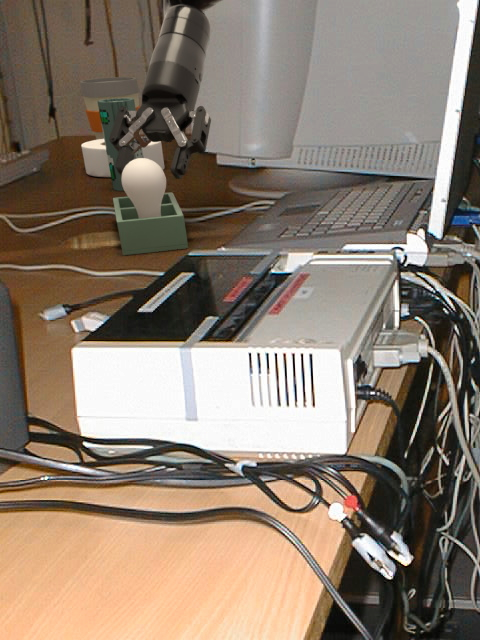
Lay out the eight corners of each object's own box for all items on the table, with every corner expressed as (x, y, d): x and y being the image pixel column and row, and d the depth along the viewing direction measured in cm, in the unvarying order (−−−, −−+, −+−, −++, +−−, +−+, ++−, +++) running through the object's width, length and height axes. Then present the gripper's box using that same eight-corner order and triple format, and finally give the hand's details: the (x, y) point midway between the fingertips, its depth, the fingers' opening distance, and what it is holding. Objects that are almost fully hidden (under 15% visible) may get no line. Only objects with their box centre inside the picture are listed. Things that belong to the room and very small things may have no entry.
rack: (188, 248, 128) (183, 215, 126) (123, 255, 126) (116, 222, 124) (177, 222, 143) (172, 192, 141) (118, 228, 141) (112, 197, 139)
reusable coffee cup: (160, 150, 206) (149, 77, 199) (114, 159, 198) (100, 83, 191) (127, 146, 213) (115, 76, 206) (81, 154, 205) (67, 81, 198)
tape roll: (162, 161, 193) (158, 133, 191) (167, 173, 180) (163, 143, 177) (86, 167, 190) (81, 139, 187) (86, 180, 177) (80, 150, 174)
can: (126, 183, 173) (111, 98, 165) (153, 184, 171) (139, 98, 163) (107, 190, 168) (91, 102, 160) (135, 191, 166) (120, 102, 158)
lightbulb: (140, 246, 127) (125, 163, 122) (126, 237, 132) (111, 158, 126) (181, 239, 130) (168, 158, 124) (166, 231, 135) (153, 152, 129)
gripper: (118, 59, 130) (90, 158, 126) (208, 57, 126) (182, 159, 122) (143, 95, 137) (118, 189, 133) (229, 94, 133) (205, 191, 129)
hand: (148, 175), depth 128 cm, fingers open, 8 cm apart
